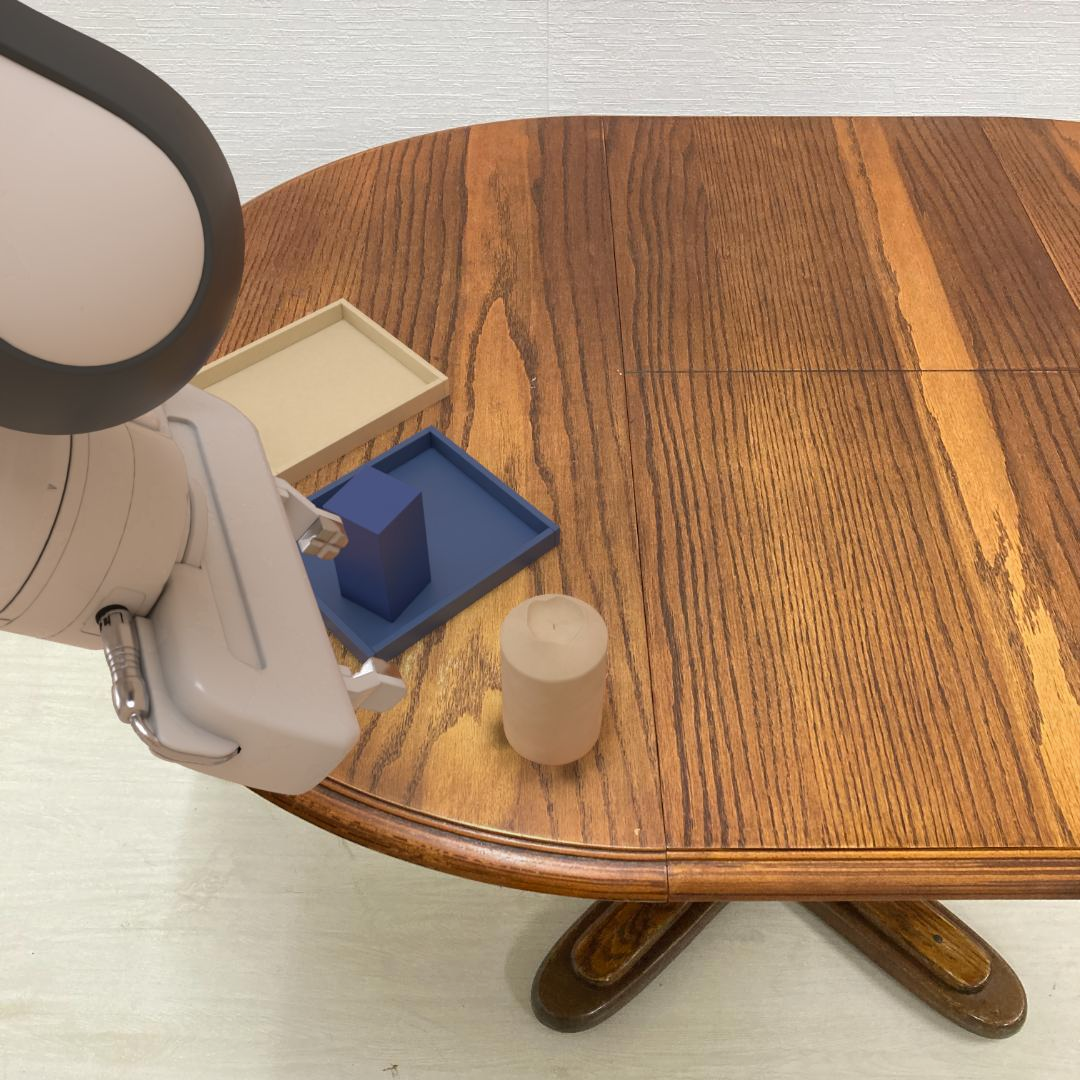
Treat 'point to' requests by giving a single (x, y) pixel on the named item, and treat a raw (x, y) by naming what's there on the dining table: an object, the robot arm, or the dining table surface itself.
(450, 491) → the blue tray
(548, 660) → the candle
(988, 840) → the dining table surface
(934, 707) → the dining table surface
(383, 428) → the cream tray
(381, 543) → the blue peg
